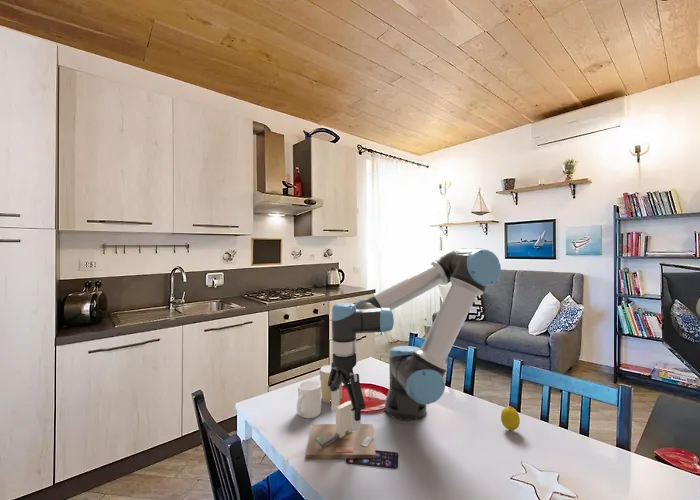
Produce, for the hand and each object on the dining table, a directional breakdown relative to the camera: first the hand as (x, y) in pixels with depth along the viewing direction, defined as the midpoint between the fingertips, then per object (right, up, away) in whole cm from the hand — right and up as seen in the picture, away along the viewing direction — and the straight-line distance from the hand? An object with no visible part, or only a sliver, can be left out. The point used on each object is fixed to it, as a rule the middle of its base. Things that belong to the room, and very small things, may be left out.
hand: (345, 419), depth 104 cm
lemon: (+54, -6, +4) cm, 54 cm away
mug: (-14, -6, +14) cm, 21 cm away
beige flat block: (-3, -4, -2) cm, 6 cm away
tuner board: (-1, -6, -2) cm, 6 cm away
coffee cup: (-6, -6, +27) cm, 28 cm away
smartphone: (+8, -7, -10) cm, 14 cm away
